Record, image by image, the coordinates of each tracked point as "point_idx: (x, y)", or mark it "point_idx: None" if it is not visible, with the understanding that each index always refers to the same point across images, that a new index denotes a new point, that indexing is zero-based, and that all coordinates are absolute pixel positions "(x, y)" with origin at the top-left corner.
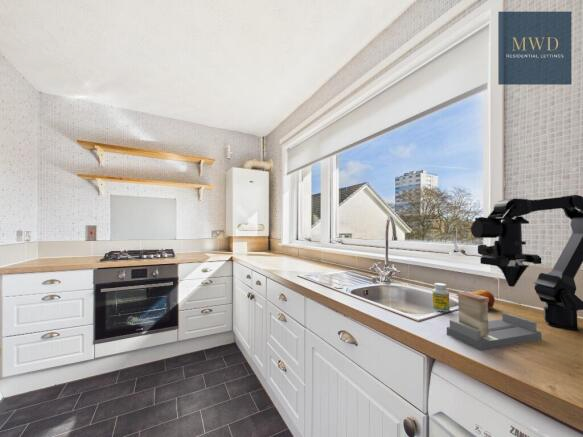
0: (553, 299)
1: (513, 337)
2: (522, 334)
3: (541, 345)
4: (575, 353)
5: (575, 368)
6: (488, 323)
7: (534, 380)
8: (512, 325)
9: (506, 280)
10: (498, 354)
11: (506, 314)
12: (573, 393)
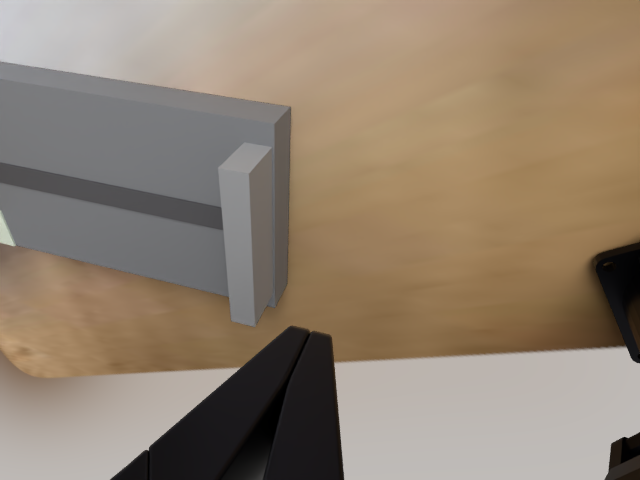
0: (625, 463)
1: (97, 263)
2: (159, 274)
3: (222, 296)
4: None
5: (160, 369)
6: (110, 127)
7: (8, 330)
8: (219, 212)
9: (227, 380)
10: (6, 246)
11: (222, 194)
12: (50, 373)
